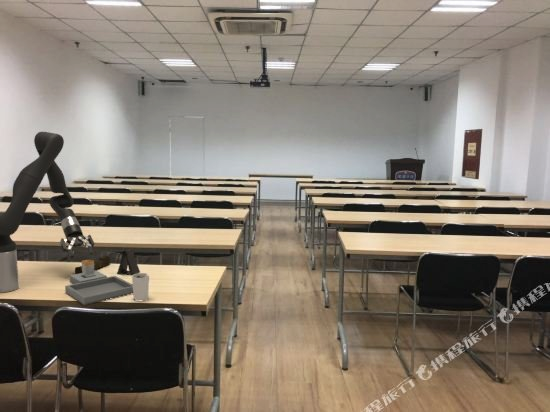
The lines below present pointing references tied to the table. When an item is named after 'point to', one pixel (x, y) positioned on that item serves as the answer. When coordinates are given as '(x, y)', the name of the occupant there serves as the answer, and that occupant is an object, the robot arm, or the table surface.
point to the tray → (99, 289)
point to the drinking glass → (140, 286)
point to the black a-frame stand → (128, 263)
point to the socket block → (79, 279)
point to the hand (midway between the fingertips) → (82, 255)
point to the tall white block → (88, 268)
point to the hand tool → (96, 264)
